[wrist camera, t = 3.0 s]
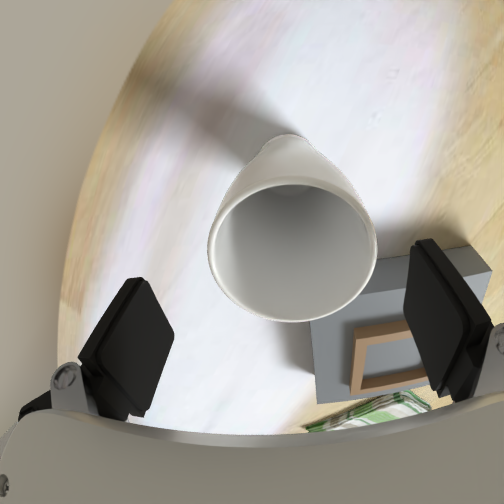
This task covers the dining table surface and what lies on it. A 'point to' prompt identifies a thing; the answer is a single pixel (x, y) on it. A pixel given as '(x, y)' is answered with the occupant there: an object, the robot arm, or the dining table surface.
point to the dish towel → (375, 412)
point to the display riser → (379, 333)
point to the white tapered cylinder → (291, 235)
